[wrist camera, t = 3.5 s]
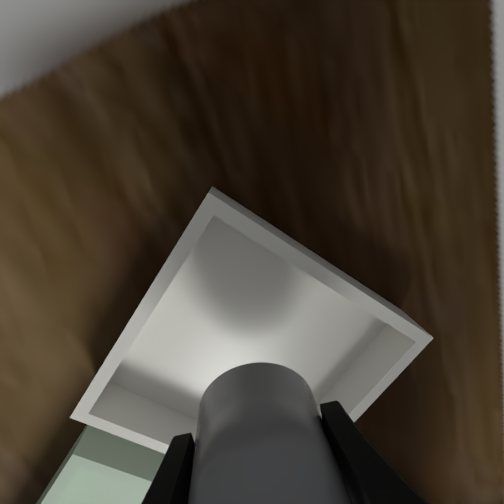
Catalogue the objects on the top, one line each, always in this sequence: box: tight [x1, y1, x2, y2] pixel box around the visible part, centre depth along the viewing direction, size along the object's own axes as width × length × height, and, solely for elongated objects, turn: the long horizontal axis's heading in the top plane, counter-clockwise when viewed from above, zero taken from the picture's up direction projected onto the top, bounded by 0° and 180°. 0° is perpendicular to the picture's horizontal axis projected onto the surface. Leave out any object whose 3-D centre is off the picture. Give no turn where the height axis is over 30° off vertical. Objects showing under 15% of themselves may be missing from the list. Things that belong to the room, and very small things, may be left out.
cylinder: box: [188, 362, 353, 504], centre depth 9 cm, size 5×5×5 cm
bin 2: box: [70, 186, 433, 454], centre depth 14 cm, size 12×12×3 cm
